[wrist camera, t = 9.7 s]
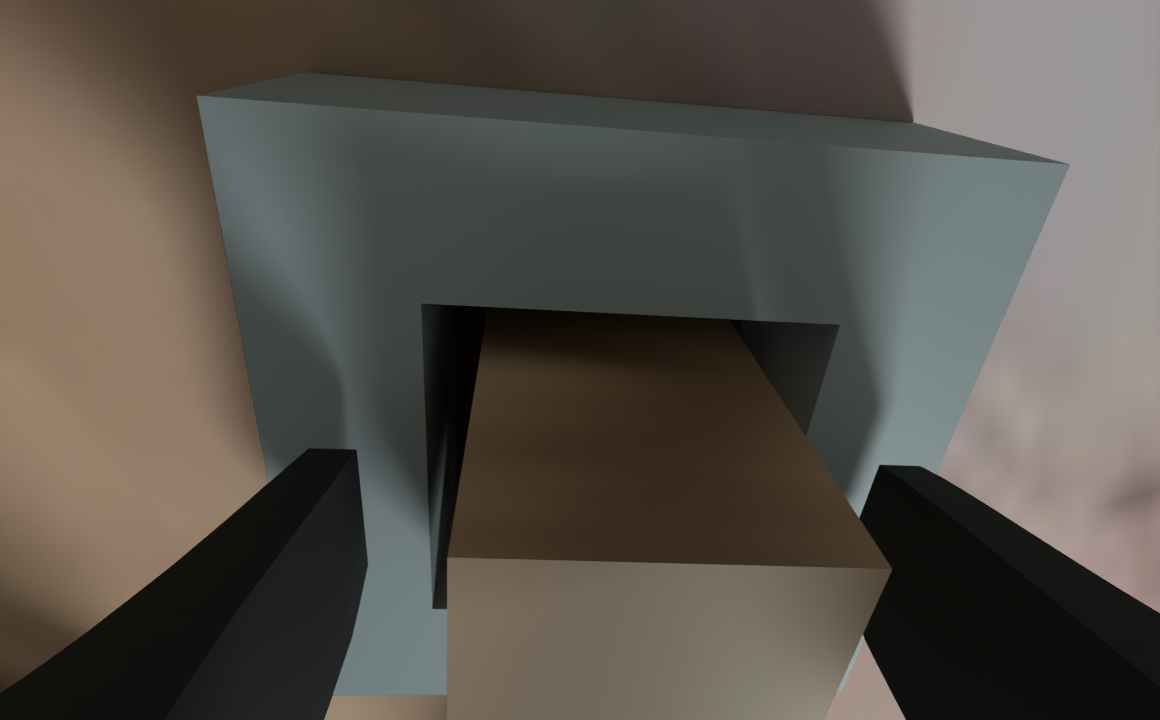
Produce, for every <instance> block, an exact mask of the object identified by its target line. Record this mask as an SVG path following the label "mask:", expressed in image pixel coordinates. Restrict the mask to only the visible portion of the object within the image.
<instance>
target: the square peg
mask: <svg viewBox="0 0 1160 720" xmlns="http://www.w3.org/2000/svg"><path fill="white" fill-rule="evenodd" d="M891 571H892V568H891V566H890V565H889V563H888V562H887V560H886V559H885V557H884V556H883V554H882V552H881V551H880V549H879V548H878V546H877V545H876V543H875V542H874V540H873V539H872V537H871V536H870V534H869V533H868V531H867V529H866V528H865V526H864V525H863V523H862V522H861V520H860V519H859V517H858V516H857V514H856V513H855V511H854V510H853V508H852V507H851V505H850V503H849V502H848V500H847V499H846V497H845V496H844V494H843V493H842V491H841V490H840V488H839V487H838V485H837V484H836V482H835V481H834V479H833V477H832V476H831V474H830V473H829V471H828V470H827V468H826V467H825V465H824V464H823V462H822V461H821V459H820V458H819V456H818V455H817V453H816V451H815V450H814V448H813V447H812V445H811V444H810V442H809V441H808V439H807V438H806V436H805V435H804V433H803V432H802V430H801V429H800V427H799V425H798V424H797V422H796V421H795V419H794V418H793V416H792V415H791V413H790V412H789V410H788V409H787V407H786V406H785V404H784V403H783V401H782V399H781V398H780V396H779V395H778V393H777V392H776V390H775V389H774V387H773V386H772V384H771V383H770V381H769V380H768V378H767V376H766V375H765V373H764V372H763V370H762V369H761V367H760V366H759V364H758V363H757V361H756V360H755V358H754V357H753V355H752V354H751V352H750V350H749V349H748V347H747V346H746V344H745V343H744V341H743V340H742V338H741V337H740V335H739V334H738V332H737V331H736V329H735V328H734V326H733V324H732V323H731V321H730V320H729V319H717V318H697V317H677V316H658V315H638V314H619V313H599V312H579V311H560V310H540V309H520V308H501V307H488V310H487V316H486V323H485V329H484V335H483V341H482V347H481V353H480V360H479V366H478V372H477V378H476V384H475V390H474V396H473V403H472V409H471V415H470V421H469V427H468V433H467V440H466V446H465V452H464V458H463V464H462V470H461V477H460V483H459V489H458V495H457V501H456V507H455V513H454V520H453V526H452V532H451V538H450V544H449V550H448V557H447V720H824V719H825V717H826V715H827V712H828V710H829V708H830V706H831V704H832V701H833V699H834V697H835V695H836V692H837V690H838V688H839V686H840V684H841V681H842V679H843V677H844V675H845V673H846V670H847V668H848V666H849V664H850V662H851V659H852V657H853V655H854V653H855V650H856V648H857V646H858V644H859V642H860V639H861V637H862V635H863V633H864V631H865V628H866V626H867V624H868V622H869V620H870V617H871V615H872V613H873V611H874V609H875V606H876V604H877V602H878V600H879V597H880V595H881V593H882V591H883V589H884V586H885V584H886V582H887V580H888V578H889V575H890V573H891Z"/></svg>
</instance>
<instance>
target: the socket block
mask: <svg viewBox="0 0 1160 720" xmlns="http://www.w3.org/2000/svg"><path fill="white" fill-rule="evenodd" d="M197 101H198V106H199V112H200V117H201V123H202V128H203V133H204V139H205V144H206V149H207V155H208V160H209V166H210V171H211V176H212V182H213V187H214V193H215V198H216V203H217V209H218V214H219V219H220V225H221V230H222V236H223V241H224V246H225V252H226V257H227V263H228V268H229V273H230V279H231V284H232V290H233V295H234V300H235V306H236V311H237V316H238V322H239V327H240V333H241V338H242V343H243V349H244V354H245V360H246V365H247V370H248V376H249V381H250V386H251V392H252V397H253V403H254V408H255V413H256V419H257V424H258V430H259V435H260V440H261V446H262V451H263V456H264V462H265V467H266V473H267V478H268V483H269V482H270V481H271V480H272V479H274V478H275V477H276V476H277V475H278V474H279V473H280V472H282V471H283V470H284V469H285V468H286V467H287V466H288V465H290V464H291V463H292V462H293V461H294V460H296V459H297V458H298V457H299V456H300V455H301V454H303V453H304V452H305V451H306V450H307V449H308V448H321V449H355V450H357V457H358V467H359V477H360V487H361V497H362V507H363V517H364V527H365V537H366V547H367V557H368V568H367V573H366V577H365V582H364V587H363V592H362V596H361V601H360V605H359V610H358V614H357V618H356V623H355V627H354V631H353V636H352V639H351V642H350V645H349V648H348V651H347V654H346V657H345V660H344V663H343V666H342V669H341V672H340V675H339V678H338V681H337V684H336V687H335V689H334V692H333V695H332V696H372V695H447V557H448V550H449V544H450V538H451V532H452V526H453V520H454V513H455V507H456V501H457V495H458V489H459V483H460V477H461V476H456V474H455V384H454V305H462V306H481V307H501V308H520V309H540V310H560V311H579V312H599V313H619V314H638V315H658V316H677V317H697V318H717V319H736V320H741V325H740V329H739V335H740V337H741V338H742V340H743V341H744V343H745V344H746V346H747V347H748V349H749V350H750V352H751V354H752V355H753V357H754V358H755V360H756V361H757V363H758V364H759V366H760V367H761V369H762V370H763V372H764V373H765V375H766V376H767V378H768V380H769V381H770V383H771V384H772V386H773V387H774V389H775V390H776V392H777V393H778V395H779V396H780V398H781V399H782V401H783V403H784V404H785V406H786V407H787V409H788V410H789V412H790V413H791V415H792V416H793V418H794V419H795V421H796V422H797V424H798V425H799V427H800V429H801V430H802V432H803V433H804V435H805V436H806V438H807V439H808V441H809V442H810V444H811V445H812V447H813V448H814V450H815V451H816V453H817V455H818V456H819V458H820V459H821V461H822V462H823V464H824V465H825V467H826V468H827V470H828V471H829V473H830V474H831V476H832V477H833V479H834V481H835V482H836V484H837V485H838V487H839V488H840V490H841V491H842V493H843V494H844V496H845V497H846V499H847V500H848V502H849V503H850V505H851V507H852V508H853V510H854V511H855V513H856V514H857V516H858V517H860V515H861V512H862V510H863V507H864V504H865V502H866V499H867V496H868V494H869V491H870V488H871V486H872V483H873V480H874V478H875V475H876V472H877V470H878V467H879V465H905V466H921V467H923V468H925V469H927V470H929V471H931V472H933V473H934V474H936V472H937V470H938V468H939V465H940V463H941V461H942V458H943V456H944V454H945V451H946V449H947V447H948V445H949V442H950V440H951V438H952V435H953V433H954V431H955V428H956V426H957V424H958V421H959V419H960V417H961V415H962V412H963V410H964V408H965V405H966V403H967V401H968V398H969V396H970V394H971V391H972V389H973V387H974V384H975V382H976V380H977V378H978V375H979V373H980V371H981V368H982V366H983V364H984V361H985V359H986V357H987V354H988V352H989V350H990V348H991V345H992V343H993V341H994V338H995V336H996V334H997V331H998V329H999V327H1000V324H1001V322H1002V320H1003V318H1004V315H1005V313H1006V311H1007V308H1008V306H1009V304H1010V301H1011V299H1012V297H1013V294H1014V292H1015V290H1016V288H1017V285H1018V283H1019V281H1020V278H1021V276H1022V274H1023V271H1024V269H1025V267H1026V264H1027V262H1028V260H1029V258H1030V255H1031V253H1032V251H1033V248H1034V246H1035V244H1036V241H1037V239H1038V237H1039V234H1040V232H1041V230H1042V228H1043V225H1044V223H1045V221H1046V218H1047V216H1048V214H1049V211H1050V209H1051V207H1052V204H1053V202H1054V200H1055V197H1056V195H1057V193H1058V191H1059V188H1060V186H1061V184H1062V181H1063V179H1064V177H1065V174H1066V172H1067V170H1068V167H1069V165H1070V164H1066V163H1062V162H1058V161H1055V160H1051V159H1047V158H1044V157H1040V156H1036V155H1032V154H1029V153H1025V152H1021V151H1017V150H1014V149H1010V148H1006V147H1003V146H999V145H995V144H991V143H988V142H984V141H980V140H977V139H973V138H969V137H965V136H962V135H958V134H954V133H950V132H947V131H943V130H939V129H936V128H932V127H928V126H924V125H921V124H917V123H907V122H896V121H884V120H872V119H860V118H848V117H836V116H824V115H812V114H800V113H788V112H776V111H764V110H752V109H740V108H728V107H716V106H704V105H692V104H680V103H668V102H656V101H644V100H632V99H620V98H608V97H597V96H585V95H573V94H561V93H549V92H537V91H525V90H513V89H501V88H489V87H477V86H465V85H453V84H441V83H429V82H417V81H405V80H393V79H381V78H369V77H357V76H345V75H333V74H321V73H309V72H301V73H296V74H292V75H287V76H283V77H278V78H274V79H269V80H265V81H260V82H256V83H251V84H247V85H242V86H238V87H233V88H228V89H224V90H219V91H215V92H210V93H206V94H201V95H197ZM863 641H864V636H863V635H862V637H861V639H860V642H859V644H858V646H857V648H856V650H855V653H854V655H853V657H852V659H851V662H850V664H849V666H848V668H847V670H846V673H845V675H844V677H843V679H842V681H841V684H840V686H839V688H838V690H837V692H842V689H843V687H844V685H845V682H846V680H847V678H848V675H849V673H850V671H851V668H852V666H853V664H854V662H855V659H856V657H857V655H858V652H859V650H860V648H861V645H862V643H863Z"/></svg>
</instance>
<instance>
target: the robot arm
mask: <svg viewBox="0 0 1160 720" xmlns="http://www.w3.org/2000/svg"><path fill="white" fill-rule="evenodd" d="M859 519H860V520H861V522H862V523H863V525H864V526H865V528H866V529H867V531H868V533H869V534H870V536H871V537H872V539H873V540H874V542H875V543H876V545H877V546H878V548H879V549H880V551H881V552H882V554H883V556H884V557H885V559H886V560H887V562H888V563H889V565H890V566H891V568H892V571H891V573H890V575H889V578H888V580H887V582H886V584H885V586H884V589H883V591H882V593H881V595H880V597H879V600H878V602H877V604H876V606H875V609H874V611H873V613H872V615H871V617H870V620H869V622H868V624H867V626H866V628H865V631H864V633H863V636H864V639H865V641H866V643H867V645H868V647H869V649H870V651H871V653H872V655H873V657H874V659H875V661H876V663H877V665H878V667H879V669H880V670H881V672H882V674H883V676H884V678H885V680H886V682H887V684H888V686H889V688H890V690H891V692H892V694H893V696H894V698H895V700H896V702H897V704H898V705H899V707H900V709H901V711H902V713H903V715H904V717H905V719H906V720H1160V613H1159V612H1157V611H1155V610H1153V609H1152V608H1150V607H1148V606H1147V605H1145V604H1143V603H1142V602H1140V601H1138V600H1137V599H1135V598H1133V597H1132V596H1130V595H1129V594H1127V593H1125V592H1124V591H1122V590H1120V589H1119V588H1117V587H1115V586H1114V585H1112V584H1111V583H1109V582H1107V581H1106V580H1104V579H1102V578H1101V577H1099V576H1098V575H1096V574H1094V573H1093V572H1091V571H1090V570H1088V569H1086V568H1085V567H1083V566H1082V565H1080V564H1079V563H1077V562H1075V561H1074V560H1072V559H1071V558H1069V557H1067V556H1066V555H1064V554H1063V553H1061V552H1060V551H1058V550H1056V549H1055V548H1053V547H1052V546H1050V545H1049V544H1047V543H1045V542H1044V541H1042V540H1041V539H1039V538H1038V537H1036V536H1035V535H1033V534H1031V533H1030V532H1028V531H1027V530H1025V529H1024V528H1022V527H1020V526H1019V525H1017V524H1016V523H1014V522H1013V521H1011V520H1010V519H1008V518H1006V517H1005V516H1003V515H1002V514H1000V513H999V512H997V511H995V510H994V509H992V508H991V507H989V506H988V505H986V504H984V503H983V502H981V501H980V500H978V499H976V498H975V497H973V496H972V495H970V494H968V493H967V492H965V491H963V490H962V489H960V488H959V487H957V486H955V485H954V484H952V483H950V482H949V481H947V480H945V479H943V478H942V477H940V476H938V475H936V474H934V473H933V472H931V471H929V470H927V469H925V468H923V467H921V466H905V465H879V467H878V470H877V472H876V475H875V478H874V480H873V483H872V486H871V488H870V491H869V494H868V496H867V499H866V502H865V504H864V507H863V510H862V512H861V515H860V517H859ZM367 568H368V557H367V547H366V537H365V527H364V517H363V507H362V497H361V487H360V477H359V467H358V457H357V450H355V449H321V448H308V449H307V450H306V451H305V452H304V453H303V454H301V455H300V456H299V457H298V458H297V459H296V460H294V461H293V462H292V463H291V464H290V465H288V466H287V467H286V468H285V469H284V470H283V471H282V472H280V473H279V474H278V475H277V476H276V477H275V478H274V479H272V480H271V481H270V482H269V483H268V484H267V485H266V486H264V487H263V488H262V489H261V490H260V491H259V492H258V493H257V494H255V495H254V496H253V497H252V498H251V499H250V500H249V501H247V502H246V503H245V504H244V505H243V506H242V507H241V508H239V509H238V510H237V511H236V512H235V513H234V514H233V515H231V516H230V517H229V518H228V519H227V520H226V521H224V522H223V523H222V524H221V525H220V526H219V527H217V528H216V529H215V530H214V531H213V532H211V533H210V534H209V535H208V536H207V537H206V538H204V539H203V540H202V541H201V542H200V543H198V544H197V545H196V546H195V547H194V548H192V549H191V550H190V551H189V552H188V553H187V554H185V555H184V556H183V557H182V558H181V559H179V560H178V561H177V562H176V563H175V564H173V565H172V566H171V567H170V568H169V569H167V570H166V571H165V572H164V573H162V574H161V575H160V576H158V577H157V578H156V579H155V580H153V581H152V582H151V583H149V584H148V585H147V586H146V587H144V588H143V589H142V590H141V591H139V592H138V593H137V594H135V595H134V596H133V597H132V598H130V599H129V600H128V601H126V602H125V603H124V604H123V605H121V606H120V607H119V608H117V609H116V610H115V611H114V612H112V613H111V614H110V615H108V616H107V617H106V618H105V619H103V620H102V621H101V622H100V623H98V624H97V625H96V626H94V627H93V628H92V629H91V630H89V631H88V632H86V633H85V634H84V635H82V636H81V637H80V638H78V639H77V640H76V641H74V642H73V643H71V644H70V645H69V646H67V647H66V648H65V649H63V650H62V651H60V652H59V653H58V654H56V655H55V656H53V657H52V658H51V659H49V660H48V661H46V662H45V663H44V664H42V665H41V666H39V667H38V668H37V669H35V670H34V671H32V672H31V673H30V674H28V675H27V676H25V677H24V678H22V679H21V680H19V681H18V682H16V683H15V684H13V685H12V686H11V687H9V688H8V689H6V690H5V691H3V692H2V693H0V720H324V718H325V716H326V713H327V710H328V707H329V704H330V701H331V698H332V695H333V692H334V689H335V687H336V684H337V681H338V678H339V675H340V672H341V669H342V666H343V663H344V660H345V657H346V654H347V651H348V648H349V645H350V642H351V639H352V636H353V631H354V627H355V623H356V618H357V614H358V610H359V605H360V601H361V596H362V592H363V587H364V582H365V577H366V573H367Z"/></svg>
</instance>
